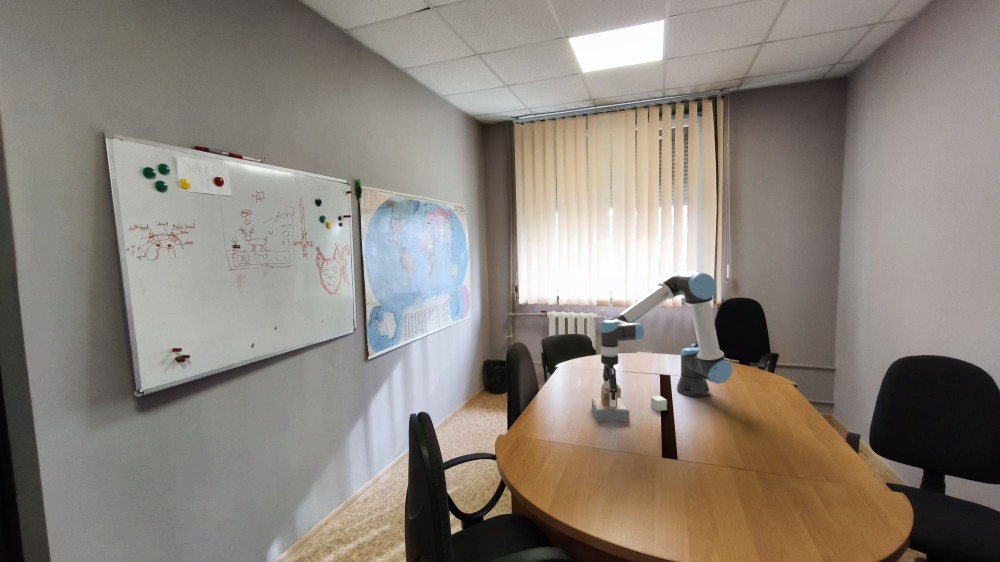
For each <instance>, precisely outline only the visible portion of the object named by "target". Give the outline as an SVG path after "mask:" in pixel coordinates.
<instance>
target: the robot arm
mask: <svg viewBox="0 0 1000 562" xmlns="http://www.w3.org/2000/svg"><path fill="white" fill-rule="evenodd" d="M716 291H717V283H716V281H715V279H714V277H713V276H712V275H710V274H708V273H705V272H701V271H700V272H699V271H697V272H696V271H688V270H687V271H685V270H683V271H678V272H675V273H673V274H671V275H670V276H668V277H666V278H664V280H661V282H659V283H658V285H657V286H656V288H654V289H652V291H650V292H649V293H647V294H646V295H645V296H643V297H642V298H640V299H639V300H638V301H636V302H635V303H633V304H632V305H630V306H629V307H628V308H626V309H625V310H624V311H622V312H620V314H618V315H616V316H615V317H614V316H612V317H611V316H610V317H608V318H607V319H605V320H602V321H601V323H600V346H601V347H599V350H600V353H601V355H600V362H601V364H603V371H602V378H603V379H602V380H603V383H604V388H610V391H609V393H610V407H616V393H617V392H618V391H617V385H618V383H617V375H616V371H617V370H616V367H615V366H616V365H618V364H619V342H624V341H626V342H627V341H628V342H629V341H639V340H642V339H643V337H644V336H645V329H644V327H643V325H642V323H640V322H639V323H638V321H639V320H640V319H642V318H643V317H645V316H646V315H647V314H649V313H651V312H652V311H653V310H654V309H657V307H659V306H661V304H663V303H665V302H666V301H667V300H672V299H674V298H675V297H678V296H684V300H685V301H684V302H685V304H687V305H689V307H690V312H691V316H692V322H693V326H694V330H695V331H694V332H695V336H696V340H697V346H698V347H693V346H692V347H685V348H682V349H681V352H680V377H679V379H678V382H677V385H676V391H677V392H678V393H680V394H681V395H683V396H688V397H693V398H694V397H695V398H705V397H708V396H709V395H710V386H709V384H708V382H707V381H709V382H711V383H715V384H719V385H720V384H724V383H727V381H729V379H730V378H731V376H732V374H733V370H734V369H733V365H732V364H731V362H730V361H728V360H726V357H725V353H724V351H723V350H721V349H720V345H719V340H718V336H717V329H716V325H715V321H714V315H713V310H712V305H711V303H712V301H713V300H714V297H713V296H715V294H716V293H715V292H716ZM636 322H637V323H636ZM613 389H615V390H613Z"/></svg>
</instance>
